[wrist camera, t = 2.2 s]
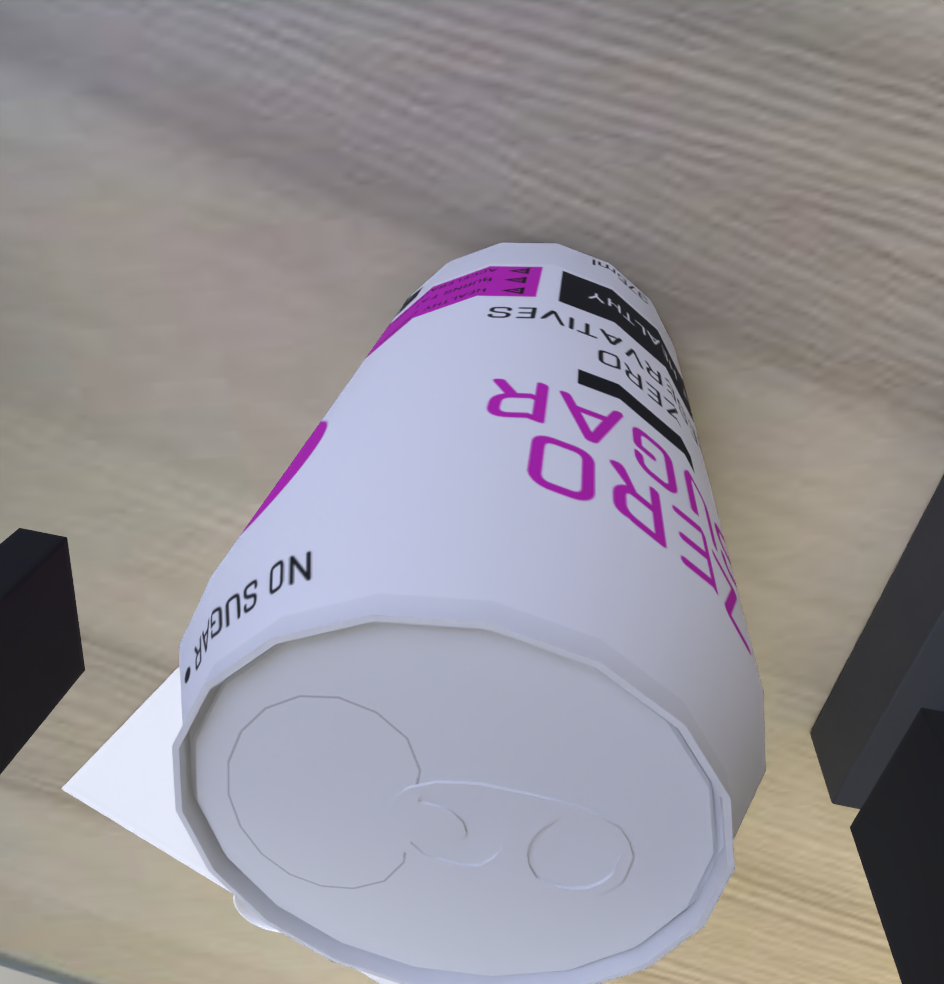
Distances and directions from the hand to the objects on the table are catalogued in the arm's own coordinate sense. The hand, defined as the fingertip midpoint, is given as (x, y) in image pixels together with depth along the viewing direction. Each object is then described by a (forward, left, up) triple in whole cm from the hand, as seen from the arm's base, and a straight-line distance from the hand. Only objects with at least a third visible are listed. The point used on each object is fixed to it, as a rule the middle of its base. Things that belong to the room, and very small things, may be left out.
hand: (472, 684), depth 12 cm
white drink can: (0, 0, -12) cm, 12 cm away
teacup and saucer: (+20, -3, -12) cm, 23 cm away
